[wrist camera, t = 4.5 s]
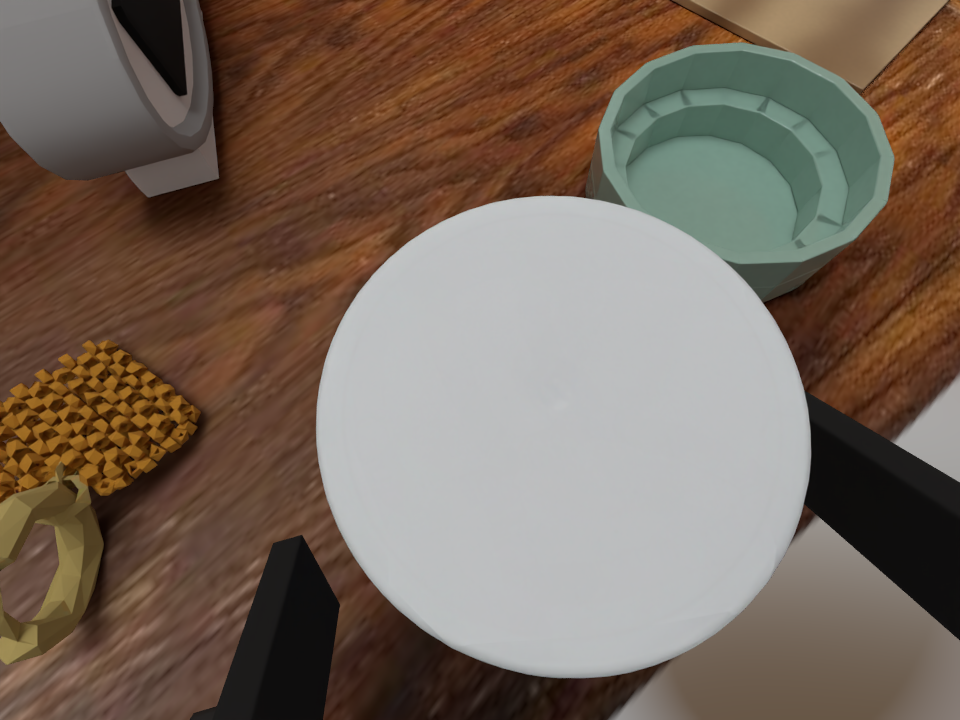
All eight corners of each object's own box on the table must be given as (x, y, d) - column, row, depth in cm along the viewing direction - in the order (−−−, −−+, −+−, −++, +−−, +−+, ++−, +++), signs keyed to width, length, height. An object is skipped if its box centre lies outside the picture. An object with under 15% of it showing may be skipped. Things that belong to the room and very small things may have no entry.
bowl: (870, 202, 26) (948, 131, 22) (730, 361, 24) (785, 321, 19) (677, 89, 30) (708, 7, 25) (538, 216, 27) (543, 151, 23)
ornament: (-61, 308, 22) (-285, 700, 14) (188, 294, 24) (121, 626, 16) (36, 384, 27) (-82, 694, 19) (230, 366, 29) (198, 640, 21)
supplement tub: (392, 527, 22) (191, 528, 8) (473, 353, 25) (425, 133, 11) (588, 622, 20) (758, 832, 6) (653, 423, 23) (869, 266, 9)
